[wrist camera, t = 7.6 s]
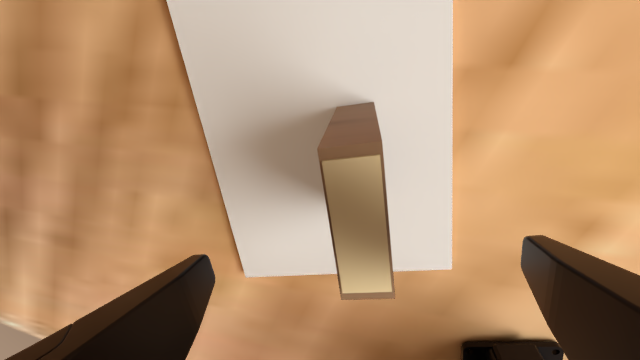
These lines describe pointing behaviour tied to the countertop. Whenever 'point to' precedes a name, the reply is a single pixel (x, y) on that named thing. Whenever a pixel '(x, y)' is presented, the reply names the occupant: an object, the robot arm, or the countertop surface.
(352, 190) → the walnut slab
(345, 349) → the countertop surface
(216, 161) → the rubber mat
